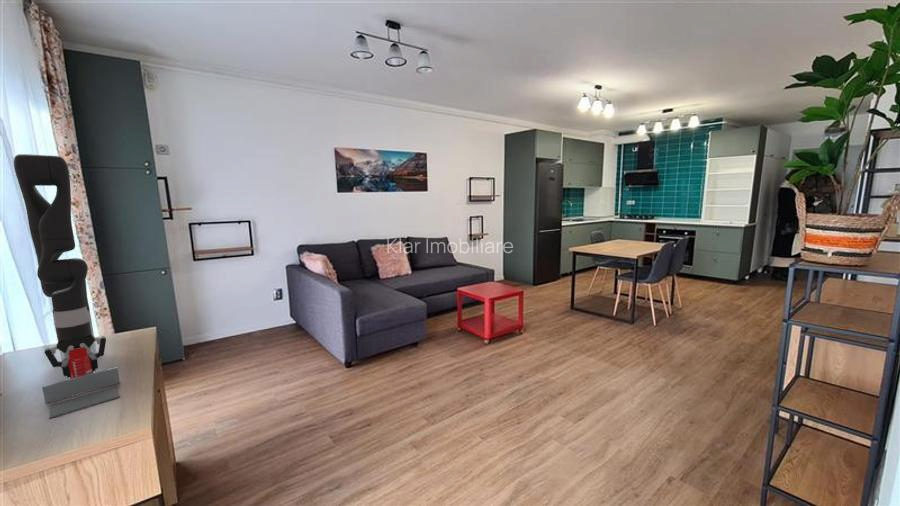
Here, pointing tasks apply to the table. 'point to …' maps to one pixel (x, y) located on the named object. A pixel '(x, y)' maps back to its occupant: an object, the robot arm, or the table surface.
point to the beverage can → (79, 362)
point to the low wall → (80, 384)
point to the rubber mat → (83, 401)
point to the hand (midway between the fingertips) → (81, 373)
